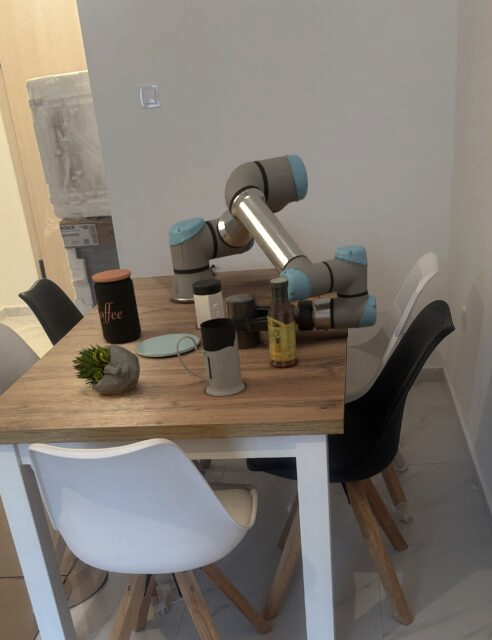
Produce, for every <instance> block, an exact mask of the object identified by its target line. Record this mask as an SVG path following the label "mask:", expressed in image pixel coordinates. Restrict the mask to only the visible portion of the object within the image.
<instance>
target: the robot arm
mask: <svg viewBox="0 0 492 640" xmlns="http://www.w3.org/2000/svg"><path fill="white" fill-rule="evenodd" d="M308 177H309V176H308V171H307V169H306V165H305V163H304V160H303V159H302V158H301V157H300V156H299V155H298V154H285V155H282V156H275V157H271V158H263V159H259V160H251V161H247V162H244V163H242V164H239V165H238V166H236V167H235V169H233V170H232V172H231V173H230V175H229V177H228V178H227V180H226V182H225V186H224V201H225V205H226V208H227V210H225V211H224V212H223V213H222V214H221V215H220V216H219V217H218V218H215V219H210V220H205V219H204V218H203V217H200V216H199V217H198V216H197V217H192V218H186V219H183V220H181V221H180V220H179V221H177V222H176V223H174V224H172V225H171V226H169V228H168V245H169V250H170V256H171V262H172V269H173V279H172V287H171V292H170V293H171V301H172V302H175V303H179V304H192V303H194V304H195V302H194V294H193V289H192V284H193V283H194V282H196V281H200V280H205V279H215V278H214V275H215V272H214V271H213V269H215V268H216V265H215V264H211V266H210V261H211V260H215V259H220V258H221V259H222V258H226V257H230V256H235V255H242V254H244V253H247V252H249V251H250V250H252V248H253V247H254V244H255V242H256V245H258V246H259V248H260V249H261V250H262V252H263V253H264V254H265V256H266V257H267V259H268V260H269V262H270V263H271V265H273V267H274V268H275V270H276V271H277V272H278V274H279V277H278V278H286V279H288V300H289V302H290V303H291V305H292V306H293V305H294V303H293V302H296V303H297V302H298V303H297V308H294V306H293V309H294V320H295V325H297V329H298V331H300V332H308V331H309V332H311V331H313V330H314V329H315V331H322V330H324V332H328V331H329V330H337V329H341V330H342V329H361V328H369V327H373V326H374V325H376V323H377V320H378V319H377V313H378V311H377V296H376V295H373V294H372V295H371V294H369V289H368V267H369V263H368V262H369V261H368V255H367V250H366V248H365V247H364V246H362V245H360V244H359V245H356V244H352V245H351V244H350V245H343V246H340V247H337V248H336V249H335V252H334V256H333V257H334V258H332V259H328V260H322V261H319V262H315V263H314V262H312V261H311V259H309V257H308V256H307V255H306V254H305V252H304V251H303V250H302V248H301V247H300V246H299V244H298V243H297V242H296V240H295V239H294V237H292V235H291V234H290V232H289V231H288V230H287V229H286V227H285V226H284V225H283V224H282V222H281V220H279V218H278V216H276V215H275V214H276V213H280V212H281V211H283V209H285V208H286V206H287V205H289V204H291V203H294V202H296V203H298V202H300V201H303V200H304V199H306V197H307V195H308V192H309V191H308V190H309V178H308ZM332 293H336V296H337V297H332V298H331V297H328V298H321V299H316V300H315V301H314V302H313V301H312V300H306V299H308V298H312V297H316V296H320V297H321V296H324V295H327V294H328V295H329V294H332ZM269 308H270V304H269V305H268V304H266V305H259V304H258V312H259V318H255V319H249V317H246V318H244V319H233V320H234V321H235V330H249V332H250V333H252V332H260V333H261V332H268V312H269ZM253 325H254V326H253Z"/></svg>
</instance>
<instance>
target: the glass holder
mask: <svg viewBox="0 0 492 640" xmlns="http://www.w3.org/2000/svg"><path fill="white" fill-rule="evenodd" d="M200 328H201V329H200V335H201V342H202V350H198V346H197V345H196V342H195V340H194V339H193V338H192V337H190V336H183V337H181V338H180V339H179V340H178V341H177V344H176V350H177V354H176V355H177V358H178V360H179V362H180V363H181V365H182V367H183V368H184V369H185V370H186V371H187V372H189V373H190V374H191V375H194V376H196V377H198V378H199V379H201V380H203V381H204V382H205V386H206V389H205V393H206V394H208V395H210V396H214V397H226V396H227V397H228V396H231V395H235V394H238V393H240V392H242V391H243V390H245V388H246V387H245V384H244V382H243V378H242V368H241V360H240V349H238V340H237V333H236V330H235V321H234V320H233V319H230V318H228V317H225V318H216V319H211V320H207V321H205V322H203V323H201V324H200ZM183 338H190V339H192V341H193V342H194V346H195V348H194V351H195V352H196V353H198V354H202V356H203V364H204V372H205V378H204V377H203V376H201V375H199V374H197V373H195V372H194V371H192V370H191V369H189V368H188V367H187V366H186V365H185V363H184V361H183V360H182V357H181V353H180V354H179V350H178V345H179V342H180V341H181V340H182V339H183Z"/></svg>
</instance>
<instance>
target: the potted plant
mask: <svg viewBox="0 0 492 640" xmlns="http://www.w3.org/2000/svg"><path fill="white" fill-rule="evenodd" d="M89 346H90V347H91V348H90V347H86V348H85V347H82V349H80V350H78V352H77V353H76V354H78V355H80V356H74V359H73V360H71V362H72V363H73V364H72V367H73V368H72V369H73V370H75V371H77V372H74V373H73V374H75V375H74V377H76V379H81V380H85V381H84V385H89V386H91V389H92V390H93V391H94V392H96V393H97V394H98V395H100V396H102V397H103V396H112V395H117V394H122V393H124V392H127V391H130V390H133V389H135V388H136V386H137V385H138V382H139V380H140V374H141V367H140V366H141V365H140V359H139V357H138V356H137V355H136V354H135V353H134V352H132V351H130V350H129V349H127V348H126V347H124V346H120V345H118V344H108V345H105V346H101V345H98V344H97V343H95V346H93V345H92V344H89Z"/></svg>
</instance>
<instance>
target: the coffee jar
mask: <svg viewBox="0 0 492 640" xmlns="http://www.w3.org/2000/svg"><path fill="white" fill-rule="evenodd" d="M131 276H132V270H130V269H127V268H126V269H125V268H116V269H109V270H104V271H101V272H97V273H95V274H93V275H92V276H91V279H92V281H93V282H94V285H93V291H94V296H95V301H96V306H97V311H98V315H99V316H98V317H99V320H100V321H99V322H100V326H101V332H102V336H103V339H104V341H106V342H107V344H110V345H121V344H127V343H131V342H134V341H136V340H138V339H139V338H140V336H141V335H142V327H141V322H140V317H139V310H138V303H137V298H136V293H135V286H134V282H133V279H132V278H131Z"/></svg>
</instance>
